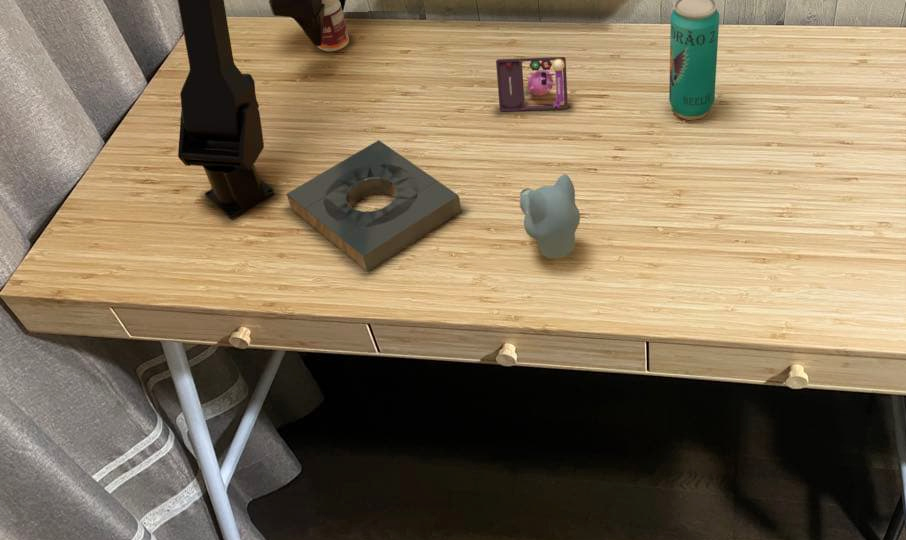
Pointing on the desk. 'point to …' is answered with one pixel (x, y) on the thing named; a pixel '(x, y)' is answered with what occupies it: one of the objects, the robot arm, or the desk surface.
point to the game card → (530, 82)
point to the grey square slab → (379, 230)
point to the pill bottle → (333, 27)
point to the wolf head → (551, 217)
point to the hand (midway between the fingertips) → (329, 27)
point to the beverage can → (693, 57)
